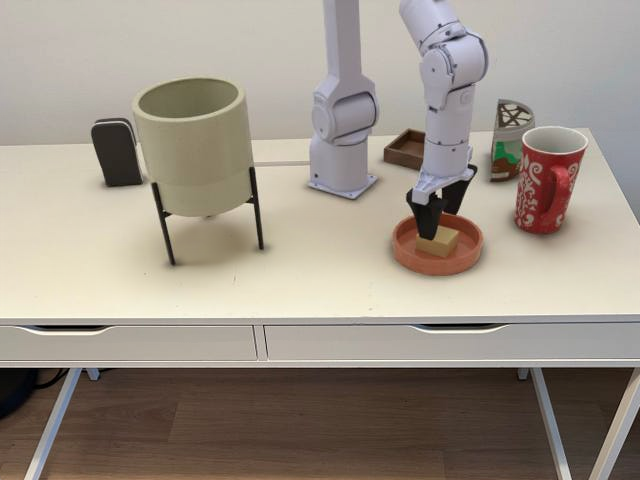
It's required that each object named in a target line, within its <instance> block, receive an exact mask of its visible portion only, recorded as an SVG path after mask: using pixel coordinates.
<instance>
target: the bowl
mask: <svg viewBox="0 0 640 480" xmlns="http://www.w3.org/2000/svg"><path fill="white" fill-rule="evenodd" d="M438 225H439V226H443V227H446V228H450V229H453V230H456V231H459V235H458V243H457V246H456V247H455V248H454V250H453V251H452V252H451V253H450V254H449V255H448V256H447V258H442V257H439V256H436V255H433V254H430V253H426V252H423V251H420V250H417V249H415V246H416V235H417V234H418V229H417V224H416V220H415V217H414V214H413V215H409V216H407V217H406V218H404V219H402V220H400V222H398V223H397V224H396V225H395V226H394V229H393V231H392V243H391V245H392V249H391V251H392V254H393V257H394V258H395V259H396V261H397V262H398V263H399V264H400V265H401V266H403V267H404V268H406V269H408V270H409V271H413V272H415V273H419V274H423V275H429V276H450V275H455V274H458V273H459V274H460V273H462V272H465V271H467V270H469V269H471V268H472V267H473V266H475V264H476V263H477V262H478V261H479V260H480V257H481V254H482V253H481V252H482V247H483V242H484V236H483V232H482V230H481V229H480V228H479V225H477V224H476V223H474V222H473V221H472V220H470V219H468V218H466V217H464V216H462V215H459V214H456V215H452V214H448V213H444V212H442V214H441V217H440V220H439V224H438Z"/></svg>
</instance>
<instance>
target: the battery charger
mask: <svg viewBox="0 0 640 480" xmlns="http://www.w3.org/2000/svg"><path fill="white" fill-rule="evenodd" d="M90 136H91V141H92V145H93V149H94V151H95V154H96V158H97V160H98V164H99V166H100V169H101V172H102V175H103V178H104V182H105V185H106V186H108V187H109V186H112V187H113V186H127V185H128V186H130V185H136V184H142V183H143V181H144V175H143V171H142V168H141V164H140V160H139V154H138V149H137V145H138V143H137V139H136V135H135V131H134V127H133V125H132V123H131V121H130V120H128V119H127V118H126V117H107V118H100V119H97V120H95V121H94V123H93V124H92V126H91V128H90Z"/></svg>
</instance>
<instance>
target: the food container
mask: <svg viewBox="0 0 640 480" xmlns="http://www.w3.org/2000/svg"><path fill="white" fill-rule="evenodd" d="M535 116H536V115H535V113H534V110H533V109H532V108H531V107H530V106H528V105H527V104H525V103H523V102H521V101H516V100H512V99H506V98H498V100H497V105H496V112H495V120H494V126H493V134H492V135H493V136H492V140H491V148H490V157H489V179H490V180H489V182H490V183H500V182H501V183H502V182H506V181H509V180H512V179H514V178H516V177H517V176H519V172H520V162H521V154H522V145H523V144H522V136H523V134H524V133H525V132H527V131H529V130H531V129H534V128H536V117H535Z"/></svg>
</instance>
